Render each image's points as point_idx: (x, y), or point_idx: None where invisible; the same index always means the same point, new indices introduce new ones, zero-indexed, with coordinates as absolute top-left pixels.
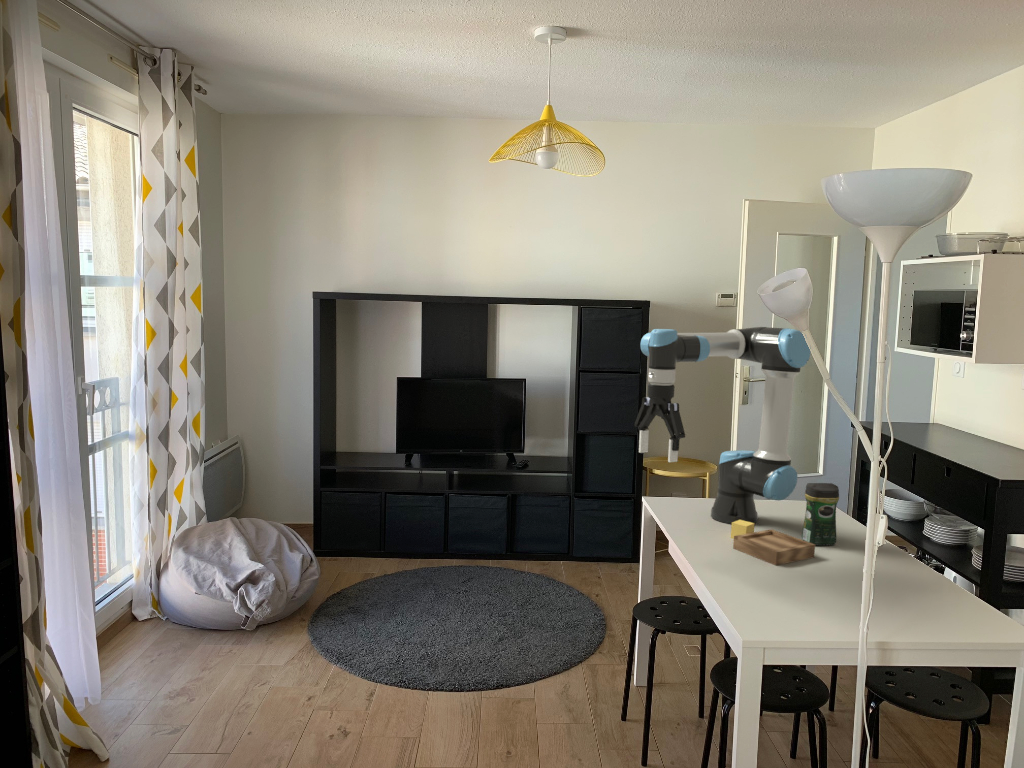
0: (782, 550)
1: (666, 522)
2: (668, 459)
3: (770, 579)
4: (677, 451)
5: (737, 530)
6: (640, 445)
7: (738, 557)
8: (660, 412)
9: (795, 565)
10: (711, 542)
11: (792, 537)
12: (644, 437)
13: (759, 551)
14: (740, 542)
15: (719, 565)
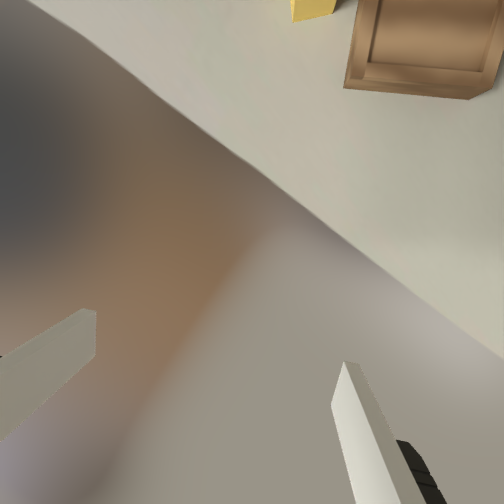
0: (496, 61)
1: (133, 71)
2: (336, 417)
3: (499, 185)
4: (380, 415)
5: (312, 2)
6: (61, 383)
7: (384, 130)
8: None
9: None
10: (288, 98)
11: None
12: (12, 401)
13: (429, 88)
14: (370, 81)
15: (387, 207)
